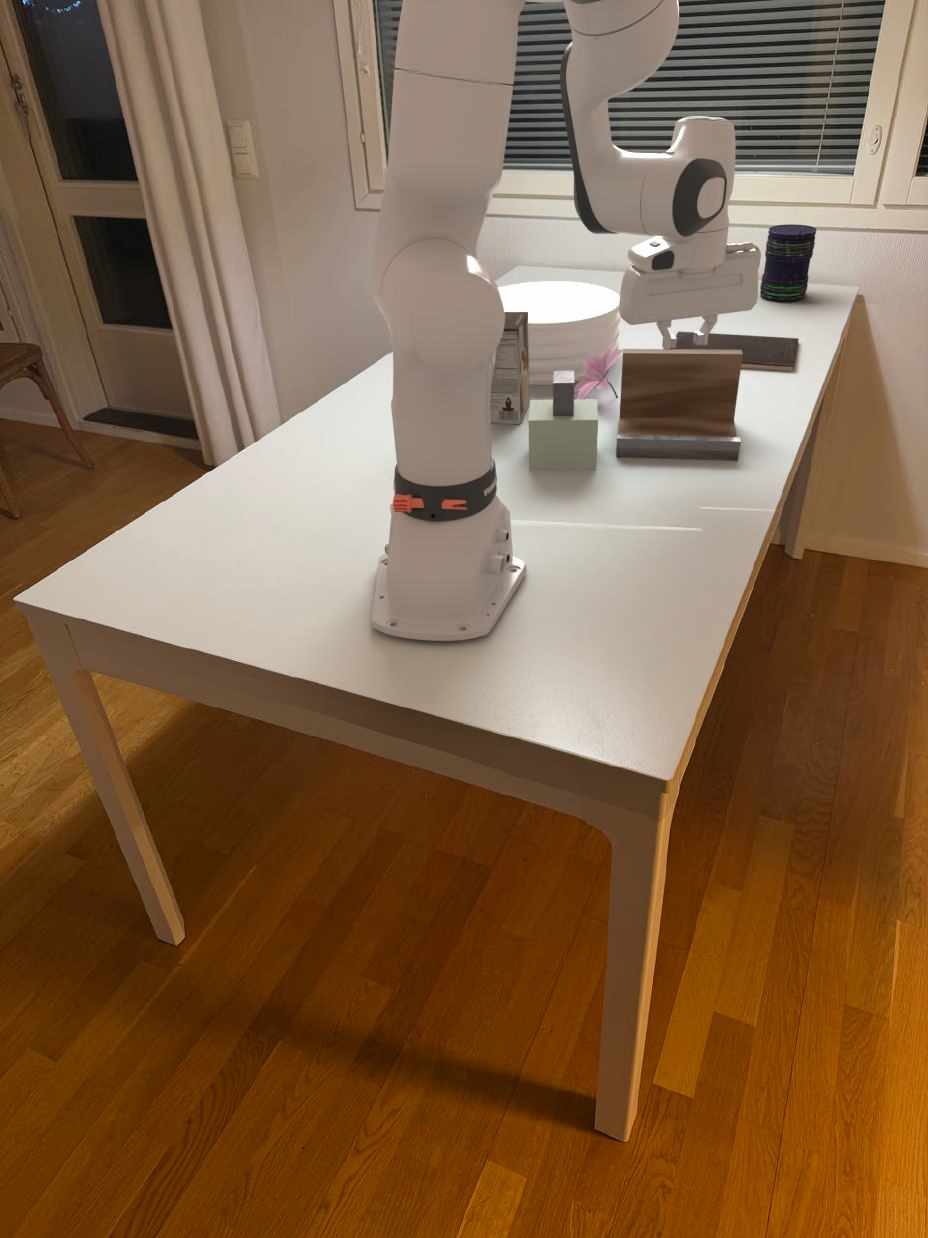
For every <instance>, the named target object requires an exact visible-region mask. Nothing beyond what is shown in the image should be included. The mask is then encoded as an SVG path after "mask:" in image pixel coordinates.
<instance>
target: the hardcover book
mask: <svg viewBox="0 0 928 1238" xmlns="http://www.w3.org/2000/svg"><path fill="white" fill-rule="evenodd" d="M694 332H695V331H679V330H678V331H677V333H676V335H675V337H676V338H677V343H676V349H702V350H742V353H743V356H742V363H741V369H752V370H753V369H757V370H771V371H772V370H773V371H784V372H785V371H786V372H787V371H788V372H793V371H794V368H795V365H796V358H797V351H798V345H799V340H800V339H799V338H797V337H781V336H767V335H766V336H765V335H764V336H763V335H749V334H732V333H731V334H730V333H729V334H728V333H713V332H710V333H709V334H708V342H707V345H704V346H696V345H694V343H693V339H694Z"/></svg>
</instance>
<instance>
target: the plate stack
mask: <svg viewBox="0 0 928 1238" xmlns="http://www.w3.org/2000/svg"><path fill="white" fill-rule="evenodd" d="M498 290H499V292H500V295H501V299H502V303H503V307H504V312H528V352H529V385H553V375H554V371H574V383H575V382H580V381H581V379H583V378H584V377H585V375H584V373H583V362H584V359H585V357H586V356H587V355H589V354H595V355H598V356H600V357H601V356H602V354H603V353H604V351H605V350H606V349H607V347H608V346H609V345H610V344H611V343H612V342H613V341H614V345H613V348H612V351H611V352H613V351H616V350H619V348H620V347H619V344H620V340H619V337H620V329H621V328H620V323H621V316H620V314H619V299H620V294H618V293H617V292H616V291H614V290H612V289H610V288H607V287H604V286H601V285H597V284H592V283H586V282H577V281H566V280H565V281H557V280H554V281H553V280H551V281H549V280H547V281H532V282H522V283H517V284H515V283H514V284H508V285H504V286H500V287H498ZM618 361H619V357H618V358H617V359H616V360H615V361H614V362H613V363H612V364H611V365H610V367H609V370H611V369H612V368H613V367H614V366H615V365H617V362H618Z"/></svg>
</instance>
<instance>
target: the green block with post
mask: <svg viewBox="0 0 928 1238" xmlns="http://www.w3.org/2000/svg"><path fill="white" fill-rule="evenodd" d="M574 388H575V382H574V371H554V375H553V384H552V399H529V412H528V413H529V414H528V470H529V472H530V471H597V464H598V463H597V461H598V460H597V459H598V458H597V457H598V434H599V433H598V431H599V428H598V427H599V413H598V411H599V410H598V399H596V398H583V399H577V398H576V399H575V392H574Z"/></svg>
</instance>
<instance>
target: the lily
mask: <svg viewBox="0 0 928 1238" xmlns="http://www.w3.org/2000/svg"><path fill="white" fill-rule="evenodd" d="M613 345H614V341H613V342H612V343H611V344H610V345H609V346H608V347H607V349H606V350H605V351H604V353H603V354H602V356H601V357H600V356H598V355H595V354H589V355H587V356H586V357H585V359H584V362H583V373H584V375H585V377H584V378H583V379H581V380H580V381H578V383H577V384H576V385H575V386H574V393H575V392H577V391H578V393H577V395H576V399H585V397H586V395H587V394H589V392H590V391H591V390H592V389H593V388H594V389H598V390H606V389H607V386H608V385H609V386H610V388H611V389H612V392H613V394H614V396H615V397H616V398H617V399H618V398H619V397H618V394H617V392H616V390H615V388H614V386H613V385H612V384H611V382H610V381H609V371H610V369H609V367H610V365H611V364H612V363H613V362H614V361H615V360H616V359H617V358H618V359H619V357H620V356H621V354H623V349H618V350H616V351H613V352H611V351H612V348H613Z"/></svg>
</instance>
